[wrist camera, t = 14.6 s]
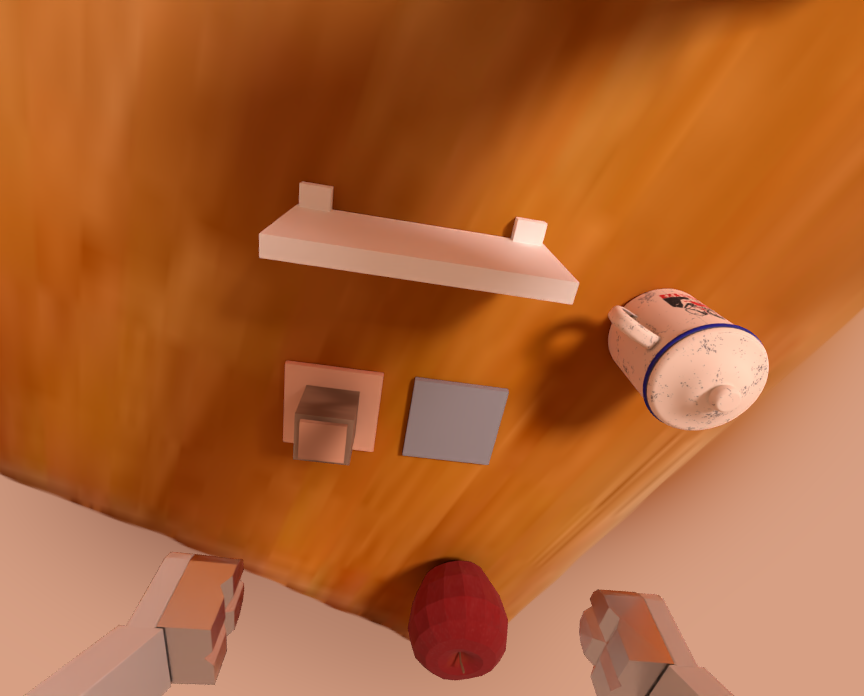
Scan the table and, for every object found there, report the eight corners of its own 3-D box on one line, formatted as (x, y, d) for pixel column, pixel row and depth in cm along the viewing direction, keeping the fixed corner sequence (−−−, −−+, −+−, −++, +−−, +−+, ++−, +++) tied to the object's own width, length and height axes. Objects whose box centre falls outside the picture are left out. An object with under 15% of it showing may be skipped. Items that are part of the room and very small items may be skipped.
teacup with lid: (725, 316, 42) (826, 383, 32) (654, 389, 46) (724, 472, 35) (627, 247, 39) (703, 296, 29) (559, 331, 42) (604, 403, 32)
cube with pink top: (360, 391, 44) (353, 423, 40) (355, 434, 46) (348, 468, 42) (306, 384, 44) (293, 416, 39) (304, 428, 46) (292, 462, 41)
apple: (449, 525, 53) (457, 626, 43) (517, 564, 56) (539, 666, 46) (391, 576, 57) (385, 681, 46) (457, 610, 60) (465, 715, 50)
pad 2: (507, 388, 45) (508, 392, 45) (487, 461, 49) (488, 464, 49) (415, 376, 44) (415, 380, 44) (402, 451, 48) (402, 455, 48)
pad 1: (383, 372, 44) (383, 376, 43) (373, 448, 48) (373, 451, 47) (286, 360, 43) (285, 363, 43) (284, 438, 47) (282, 441, 46)
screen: (548, 222, 38) (587, 256, 29) (532, 280, 40) (564, 328, 31) (298, 180, 36) (259, 203, 27) (296, 244, 38) (259, 284, 29)
